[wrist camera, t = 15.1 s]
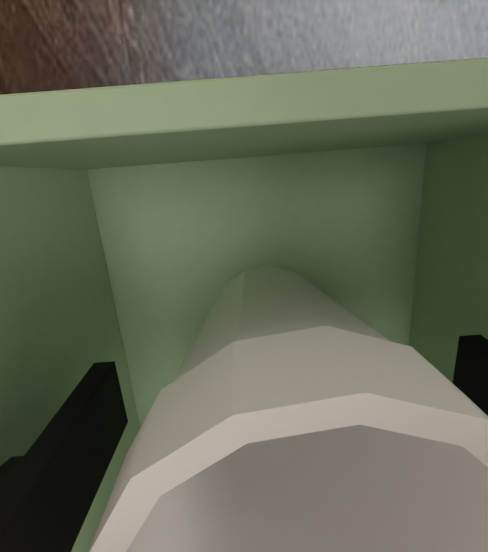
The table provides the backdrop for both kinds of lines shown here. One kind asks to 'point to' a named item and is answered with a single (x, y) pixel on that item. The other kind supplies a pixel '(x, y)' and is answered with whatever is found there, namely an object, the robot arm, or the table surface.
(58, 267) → the open storage box
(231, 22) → the table surface
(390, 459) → the foam cup
